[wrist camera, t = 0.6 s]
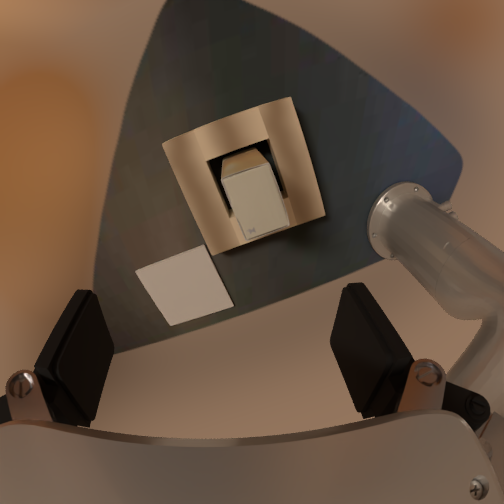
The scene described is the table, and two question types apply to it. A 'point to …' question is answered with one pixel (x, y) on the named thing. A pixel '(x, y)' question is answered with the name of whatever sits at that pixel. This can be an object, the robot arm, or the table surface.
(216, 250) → the holder
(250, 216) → the skincare box
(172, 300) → the mat
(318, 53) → the table surface
